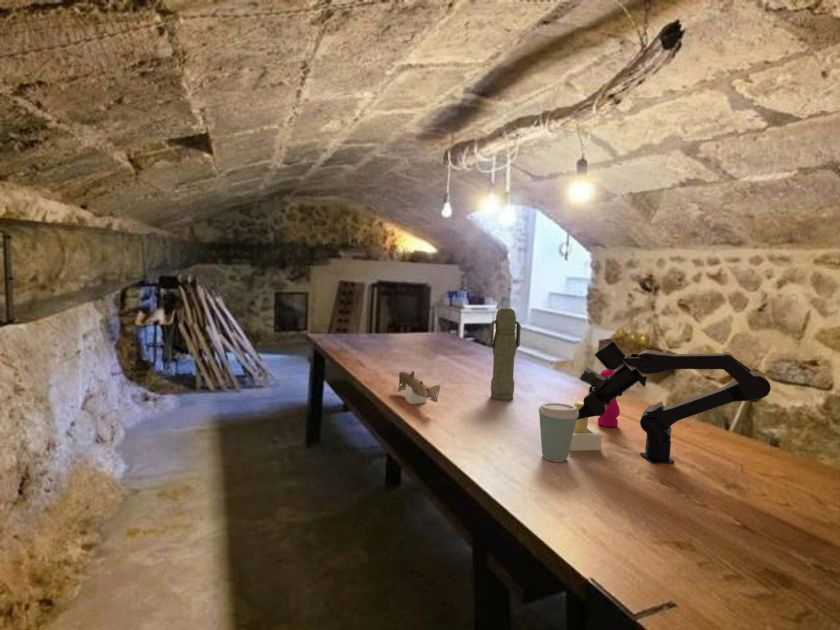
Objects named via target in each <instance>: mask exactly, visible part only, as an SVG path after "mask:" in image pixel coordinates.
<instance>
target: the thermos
mask: <svg viewBox="0 0 840 630" xmlns="http://www.w3.org/2000/svg"><path fill="white" fill-rule="evenodd" d="M494 326H495V327H494ZM494 329H495V332H494ZM521 329H522V327H521V323H520V322H519V321H517V317H516V312H515V310H514V309H512V308H505V307H504V308H500V309H498V310H497V311H496V314H495V319H494V320H492V321H491V323H490V324H489V348H492V355H493V362H492V363H493V365H492V366H493V367H492V378H491V380H490V398H491V399H492V400H495V401H499V402H509V401H513V400H514V392H515V379H514V370H515V369H514V368H515V356H516V353H517V349H518V348H519V347H520V344H521V342H520V341H521ZM515 330H516V332H515Z"/></svg>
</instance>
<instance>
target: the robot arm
mask: <svg viewBox="0 0 840 630" xmlns="http://www.w3.org/2000/svg"><path fill="white" fill-rule="evenodd" d="M593 355H594V357H595V358H596V359H597V360H598V361H599V362H600V363H601V364H602V365H603V367H604V368H605V370H606V369H607V370H608V369H610V370H611V369H612V370H615V371H616V372H614V373H613V374H612V375H609V376H608V375H607V376H606V377H603V376H601V375H600V374H601V373H598V372H597V371H594V370H593V369H591V368H589V367H586V368H585V369H584V370H583V372H582V374H581V375H580V377H579V379H580V381H582V382H583V383H584V382H585V383H587V384H589V389H588V393H587V394H586V395H585V396H584V398H583V401H582V402H584V405H583V406H582V407H581V408H580V409H579V410H578V412H579V416H578V418H577V419H582V418H588V419H589V418H592V417H600V416H601V415H603V414H604V413H605V412H606V409H607V405H609V404H610V403H611V401H612V400H614V399H615V398H616V399H617V398H618V397H622V395H624V393H625V392H626V391H627V390H628V389H630V388H632V387H633V386H634V385H636V384H637V383H640V385H642V387H646V385H647V384H646V383H647V379H648V375H649V374H656V373H661V372H665V371H666V372H667V371H670V370H723V371H724V372H726V373H727V374H728V375H729V376H730V377H732V379H733V380H731V381H730V382H729V383H727V384H726V385H725V386H721V387H719V388H716V389H714V390H711V391H708V392H705V393H702V394H700V395H697V396H694V397H691V398H688V399H685V400H683V401H681V402H677V403H674V404H671V405H664V404H663V403H664V402H663V401H662V400H661V401H659V402H657V403H655V404H653V405H647V407H646V409H645V410H644V411H643V412H642V413H641V418H640V419H639V420H640V421H639V422H640V425H639V426H640V427H641V429H642V431H644V432H645V433H646V439H645V452H642V451H641V452H639V453H640V456H642V457H643V458H645V459H646V460H648V461H649V462H650V463H652V464H674V463H675V460H674V459H672V458H671V446H672V441H671V438H672V430H673V429H672V427H671V426H673V425H674V424H676V423H677V422H678V421H682V420H683V419H684V420H685V419H686V418H687V419H688V418H690V417H693V416H695V415H698V414H700V413H701V414H702V413H705V412H707V411H710V410H712V409H713V410H714V409H717V408H719V407H721V406H724V405H727V404H730V403H737V402H749V401H754V400H759V399H764V398H765V397H767V396H768V395H770V392H771V390H772V389H771V383H770V382H769V380H768V379H767V377H766V376H765V375H764V374H763V373H761V372H759V371H756V370H751V368H748V367H747V366H746V365H745V364H743V363H742V362H740V361H739V360H738V359H737V358H735V357H734V356H733V354H731V353H729V352H720V353H669V352H668V353H667V352H663V351H658V350H652V349H651V350H650V349H644V350H642V351H640V352H639V353H630V352H629V353H625V352H624V350H622V348H621V347H620V346H619V345H618V343H617V342H616V341H615V340H612V341H611V342H609V343H608V344H607V345H604V346H602V347H601V348H600V349H599V350H598V351H596V352H595V353H594V354H593ZM621 365H622V366H621ZM620 366H621V367H620ZM616 369H617V370H616ZM605 402H606V403H605Z"/></svg>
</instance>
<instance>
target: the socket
mask: <svg viewBox="0 0 840 630" xmlns="http://www.w3.org/2000/svg"><path fill="white" fill-rule="evenodd" d="M602 441H603V435H602V433H600V432H599V431H598V430H596V429H595V428H593V426H591V425H589V424H588V426H587V433H573V437H572V441H571V445H570V449H569V452H572V451H573V452H575V451H576V452H577V451H580V452H581V451H602Z"/></svg>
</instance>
